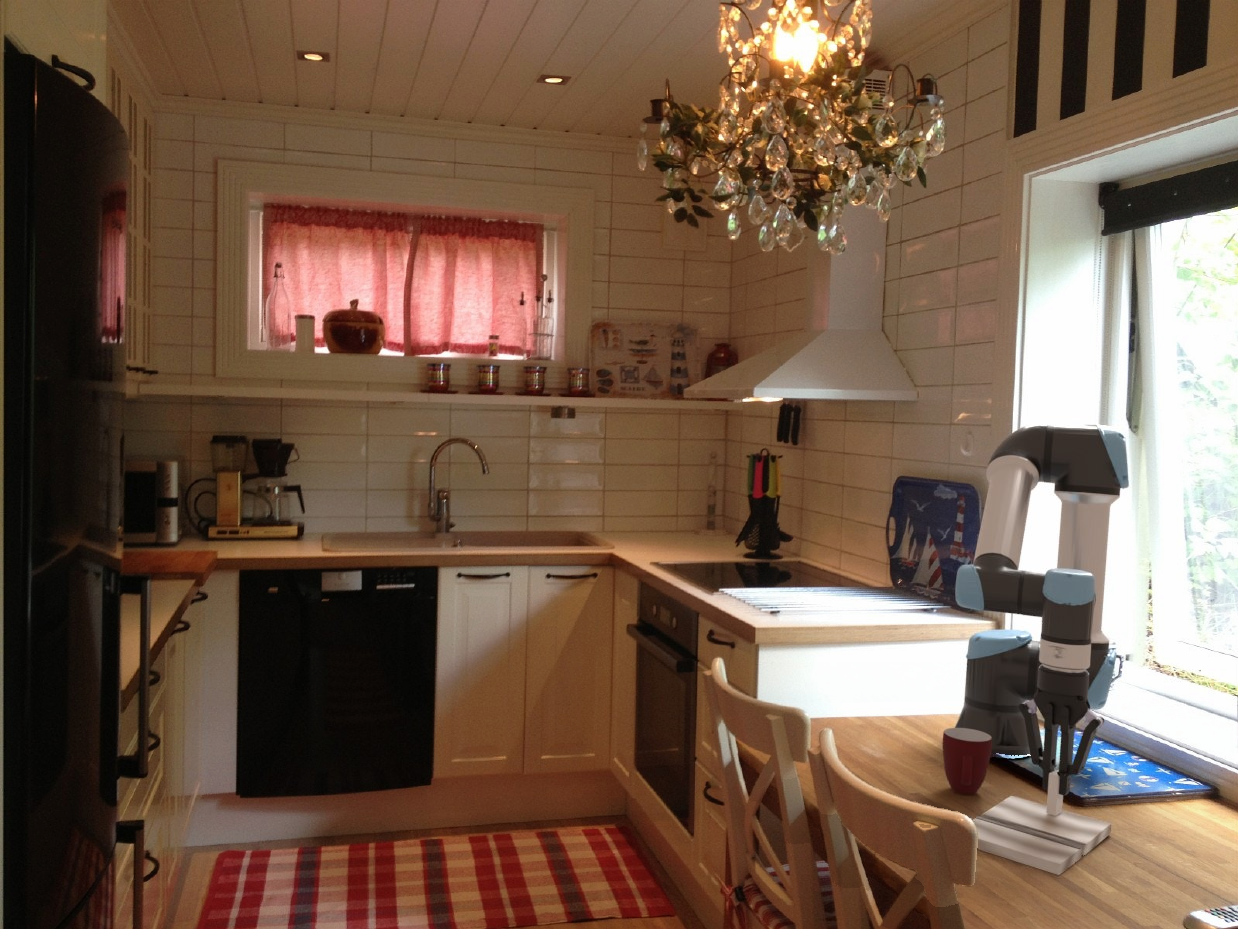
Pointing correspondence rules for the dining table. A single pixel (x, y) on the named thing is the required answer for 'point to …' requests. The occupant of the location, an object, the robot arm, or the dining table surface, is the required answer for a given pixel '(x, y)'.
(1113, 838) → the dining table surface
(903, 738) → the dining table surface
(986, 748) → the mug
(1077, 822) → the plank
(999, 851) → the laid board
